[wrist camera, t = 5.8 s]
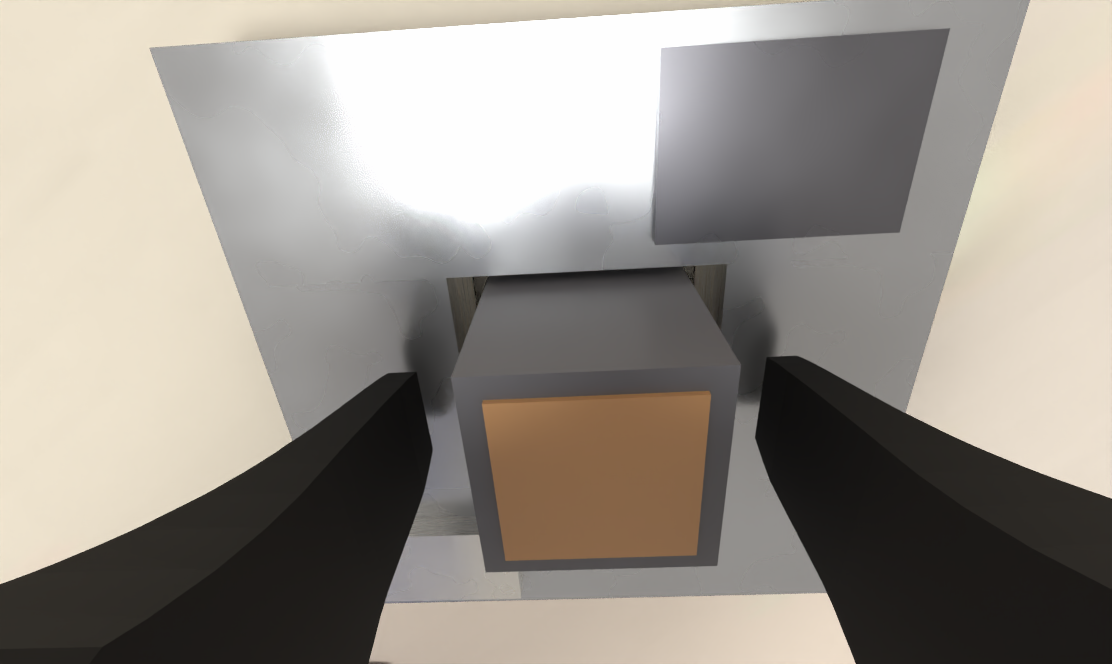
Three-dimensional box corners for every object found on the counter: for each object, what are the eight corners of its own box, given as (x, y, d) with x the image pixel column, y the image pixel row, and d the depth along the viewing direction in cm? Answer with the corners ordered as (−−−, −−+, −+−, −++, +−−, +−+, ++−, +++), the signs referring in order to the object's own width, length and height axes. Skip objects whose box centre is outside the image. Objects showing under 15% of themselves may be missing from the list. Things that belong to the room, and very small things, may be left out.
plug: (659, 378, 14) (718, 570, 9) (515, 385, 14) (485, 577, 9) (665, 237, 12) (743, 369, 7) (499, 246, 13) (449, 381, 7)
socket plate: (812, 521, 16) (862, 612, 14) (379, 534, 17) (344, 624, 14) (930, 4, 10) (1068, -21, 7) (236, 52, 11) (120, 46, 8)
